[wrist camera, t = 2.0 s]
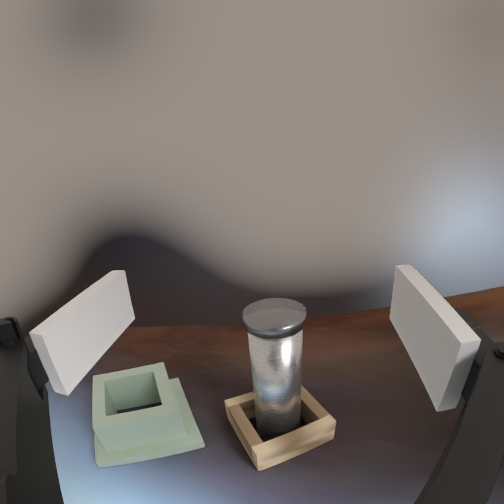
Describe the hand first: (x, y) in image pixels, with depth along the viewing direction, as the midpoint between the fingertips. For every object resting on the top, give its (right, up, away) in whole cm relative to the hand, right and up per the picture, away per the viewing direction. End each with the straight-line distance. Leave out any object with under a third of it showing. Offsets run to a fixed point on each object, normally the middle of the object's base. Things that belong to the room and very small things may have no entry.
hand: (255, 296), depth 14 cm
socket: (-13, -18, +16) cm, 28 cm away
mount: (+3, -17, +15) cm, 23 cm away
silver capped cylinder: (+3, -17, +15) cm, 23 cm away
